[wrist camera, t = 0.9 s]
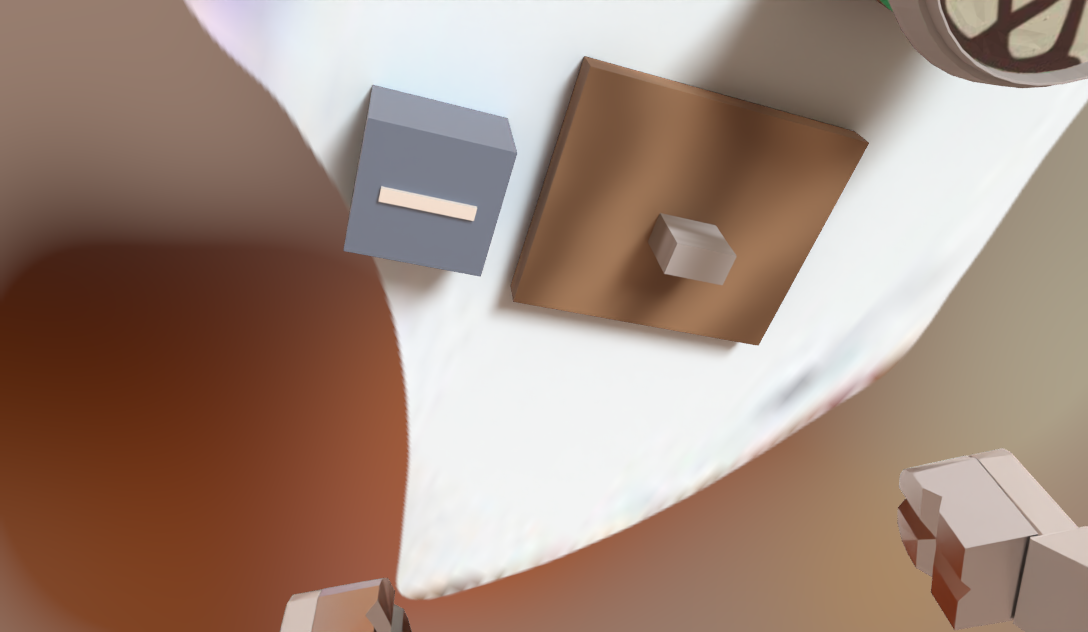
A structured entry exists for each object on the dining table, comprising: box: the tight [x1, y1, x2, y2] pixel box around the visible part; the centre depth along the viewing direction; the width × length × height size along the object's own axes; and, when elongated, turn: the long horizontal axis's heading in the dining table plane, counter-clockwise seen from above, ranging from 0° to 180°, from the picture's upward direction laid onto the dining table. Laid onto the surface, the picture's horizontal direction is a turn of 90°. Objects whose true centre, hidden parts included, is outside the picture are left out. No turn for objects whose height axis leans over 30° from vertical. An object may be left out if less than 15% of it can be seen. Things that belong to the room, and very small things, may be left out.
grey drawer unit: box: [344, 85, 517, 276], centre depth 33 cm, size 6×6×4 cm
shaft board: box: [511, 56, 869, 345], centre depth 36 cm, size 14×12×4 cm
